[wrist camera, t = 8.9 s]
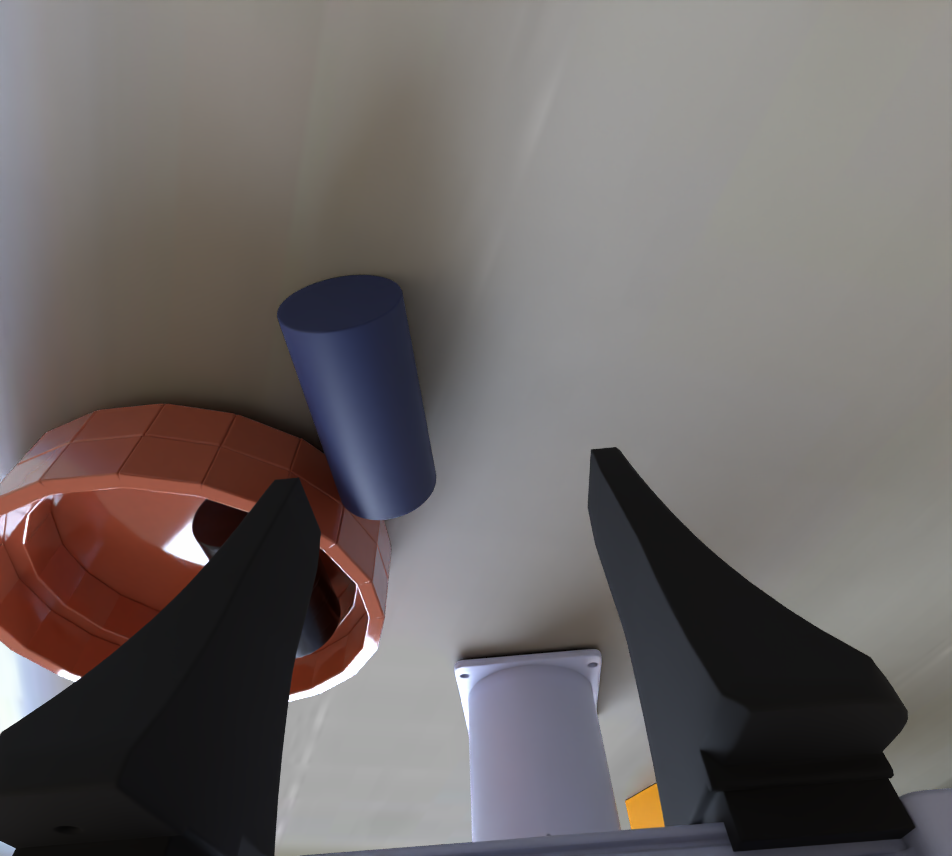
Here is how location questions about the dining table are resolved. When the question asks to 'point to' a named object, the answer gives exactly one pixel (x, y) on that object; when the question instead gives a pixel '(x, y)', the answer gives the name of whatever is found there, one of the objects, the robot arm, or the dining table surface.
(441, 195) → the dining table surface
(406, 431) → the navy tube
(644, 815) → the orange juice
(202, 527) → the black cylinder
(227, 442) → the bowl
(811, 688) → the robot arm
